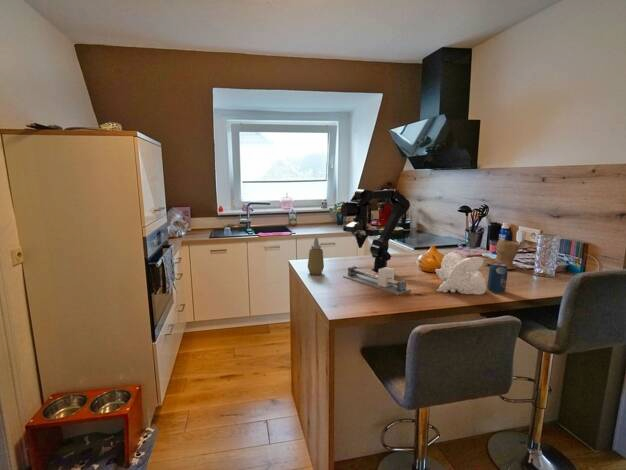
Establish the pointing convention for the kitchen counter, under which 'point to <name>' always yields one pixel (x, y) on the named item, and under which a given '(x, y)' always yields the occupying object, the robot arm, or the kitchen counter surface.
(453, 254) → the white sculpture
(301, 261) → the kitchen counter surface
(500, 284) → the soda can
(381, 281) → the collar
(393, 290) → the base board
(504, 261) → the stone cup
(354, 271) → the rail
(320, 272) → the squeeze bottle
